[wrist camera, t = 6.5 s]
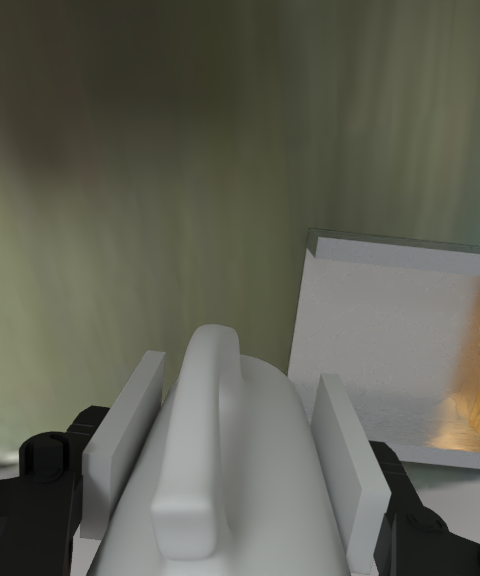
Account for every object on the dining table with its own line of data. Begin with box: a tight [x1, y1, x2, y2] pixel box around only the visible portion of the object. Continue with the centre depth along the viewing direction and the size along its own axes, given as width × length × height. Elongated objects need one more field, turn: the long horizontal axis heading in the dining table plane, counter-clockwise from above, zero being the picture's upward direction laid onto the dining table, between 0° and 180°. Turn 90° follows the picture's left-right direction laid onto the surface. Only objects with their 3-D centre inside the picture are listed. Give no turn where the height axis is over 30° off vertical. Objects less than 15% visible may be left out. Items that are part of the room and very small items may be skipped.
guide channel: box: [287, 228, 480, 469], centre depth 32 cm, size 18×17×4 cm
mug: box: [86, 324, 351, 576], centre depth 12 cm, size 10×7×12 cm, turn 3°
